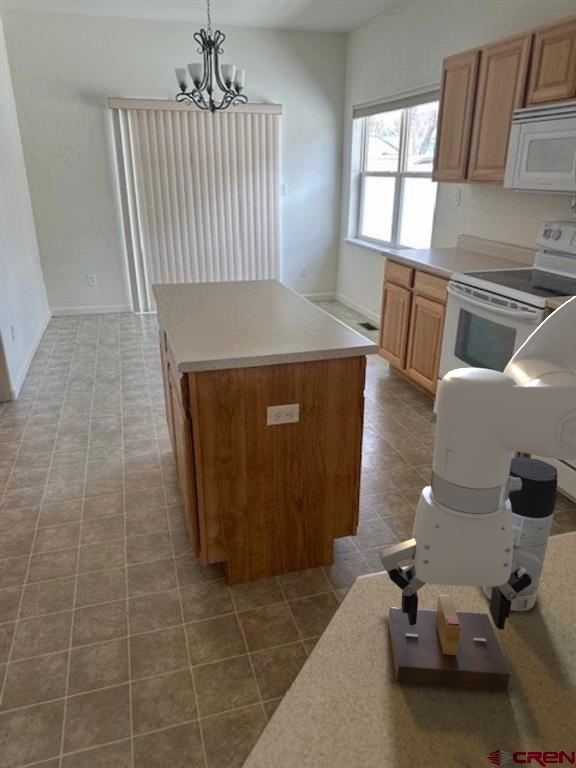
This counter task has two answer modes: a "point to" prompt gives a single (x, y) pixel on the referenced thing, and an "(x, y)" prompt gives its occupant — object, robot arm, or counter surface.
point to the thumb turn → (447, 625)
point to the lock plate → (430, 666)
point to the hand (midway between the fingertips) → (453, 618)
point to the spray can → (531, 518)
